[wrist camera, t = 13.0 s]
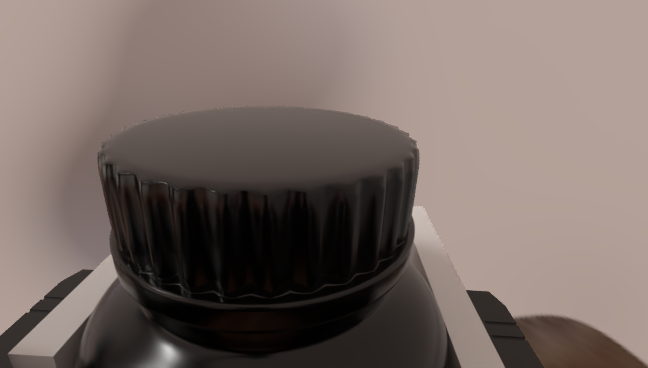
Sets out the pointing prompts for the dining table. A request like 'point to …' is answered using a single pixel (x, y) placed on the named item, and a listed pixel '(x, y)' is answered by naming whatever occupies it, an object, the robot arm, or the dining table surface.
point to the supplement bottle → (262, 245)
